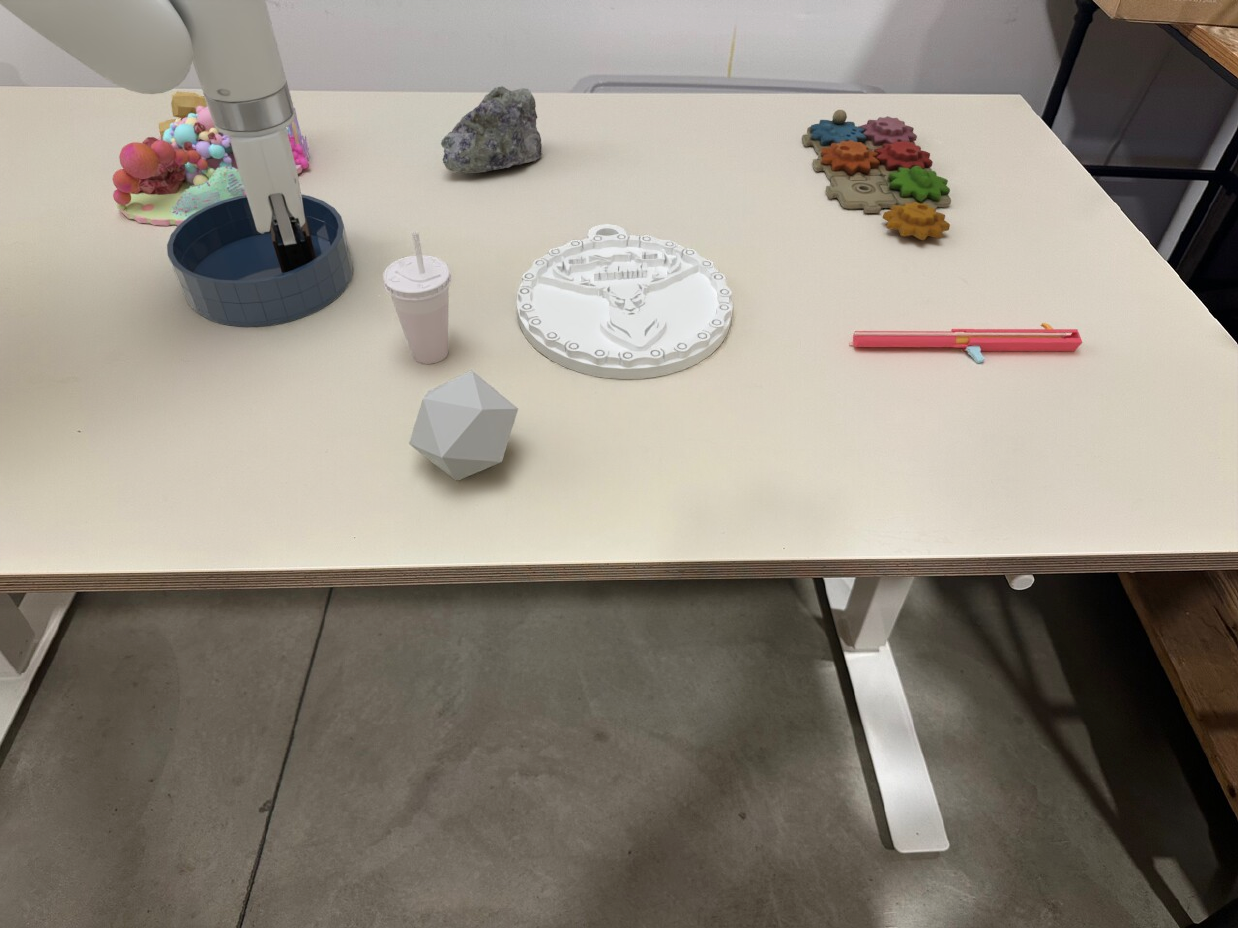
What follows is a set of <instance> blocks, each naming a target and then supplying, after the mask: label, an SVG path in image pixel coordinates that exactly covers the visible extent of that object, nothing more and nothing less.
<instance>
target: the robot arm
mask: <svg viewBox="0 0 1238 928" xmlns="http://www.w3.org/2000/svg"><path fill="white" fill-rule="evenodd" d="M0 5H1V6H2V7H3V8H4V9H6V10H7V11H8V12H9V13H11V14H12V15H14V16H15V17H16V18H17V19H19V20H20V21H21V22H22V23H24V24H25V25H27V26H28V27H29V28H31V29H32V30H33V31H35V32H36V33H38V34H39V35H40V36H42V37H43V38H45V39H46V40H48V41H49V42H50V43H52V44H53V45H55V46H56V47H58V48H59V49H61V50H62V51H63V52H65V53H67V54H68V55H69V56H71V57H72V58H74V59H76V60H77V61H78V62H80V63H81V64H83V65H84V66H85V67H87V68H89V69H90V70H92V71H93V72H94V73H96V74H98V75H99V76H101V77H102V78H104V79H105V80H107V81H109V82H110V83H112V84H114V85H116V86H118V87H120V88H123V89H125V90H127V91H130V92H133V93H138V94H144V95H158V94H164V93H167V92H169V91H172V90H174V89H176V88H177V87H178V86H180V85H181V84H182V82H184V81H185V80H186V78H187V77H188V75H189V73H190V71H191V68H192V64H193V67H194V69H195V73H196V75H197V79H198V82H199V85H200V88H201V91H202V94H203V96H204V97H205V100H206V103H207V106H208V109H209V112H210V115H211V118H212V121H213V123H214V126H215V128H216V130H218V131H219V132H220V133H222V134H225V135H228V136H229V138H230V142H231V146H232V150H233V153H234V157H235V161H236V164H237V167H238V171H239V174H240V177H241V180H242V183H243V186H244V190H245V193H246V196H247V199H248V202H249V206H250V209H251V212H252V215H253V219H254V222H255V226H256V229H257V231H258V232H259V233H261V234H264V232H269V231H270V226H271V225H272V227H273V230H274V233H275V240H276V246H277V249H278V252H279V255H280V258H281V261H282V264H283V268H284V271H285V272H289V271H292V270H294V269H296V268H299V267H301V266H303V265H305V264H307V263H309V262H311V261H312V260H313V256H312V253H311V249H310V246H309V242H308V239H307V235H306V232H305V231H302V226H303V225H304V224H305V216H304V208H303V202H302V195H303V194H302V189H301V185H300V179H299V173H298V174H297V169H296V165H295V161H294V157H293V153H292V149H291V145H290V141H289V137H288V134H287V126H289V125H290V124H291V123H292V122H293V121H294V119H295V116H296V115H297V113H296V114H295V110H296V109H295V110H294V108H295V107H294V102H293V99H292V96H291V92H290V91H291V90H290V88H289V84H288V81H287V77H286V72H285V69H284V65H283V61H282V58H281V54H280V50H279V47H278V43H277V40H276V35H275V31H274V27H273V24H272V20H271V16H270V12H269V9H268V5H267V1H266V0H0ZM301 194H302V195H301Z"/></svg>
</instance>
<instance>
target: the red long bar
mask: <svg viewBox="0 0 1238 928" xmlns="http://www.w3.org/2000/svg"><path fill="white" fill-rule="evenodd" d="M1040 327H1042V328H1001V329H1000V328H951V329H950V330H949V331H947V330H945V331H944V330H855V331H854V332H853V335H852V342H850V341H849V343H848V345H849V346H850V347H851V346H853V347H854V348H962V349H963V352H967V355H969V356H970V357H971V358H972V359H973V360H974V362H975V364H979V363H984V361H985V360H986V357H984V356H983V354H982V352H1075V351H1076V350H1077V349H1078V348H1079V347H1080V346H1081V345H1082V344H1083V339H1082V337H1081V335H1080V332H1079V329H1075V328H1053V326H1052V325H1050V324H1049V323H1045V322H1042V323H1041V324H1040Z"/></svg>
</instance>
